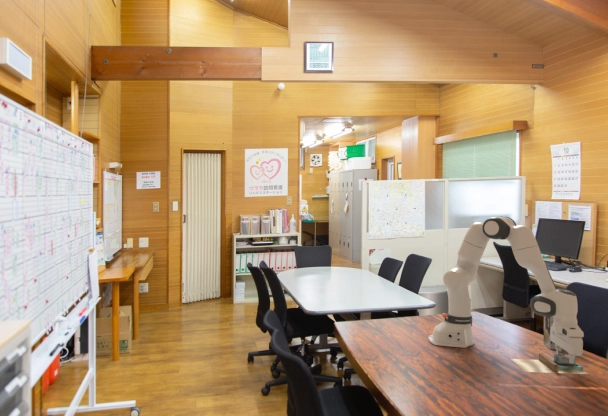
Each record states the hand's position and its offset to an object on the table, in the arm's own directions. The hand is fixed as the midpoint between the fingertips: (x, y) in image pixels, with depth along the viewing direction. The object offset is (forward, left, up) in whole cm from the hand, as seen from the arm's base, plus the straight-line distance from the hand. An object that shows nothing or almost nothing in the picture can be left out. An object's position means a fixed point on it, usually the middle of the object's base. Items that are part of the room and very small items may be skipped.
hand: (564, 358), depth 186 cm
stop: (0, 0, -3) cm, 3 cm away
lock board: (-7, 0, -4) cm, 8 cm away
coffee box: (+9, +29, -4) cm, 31 cm away
